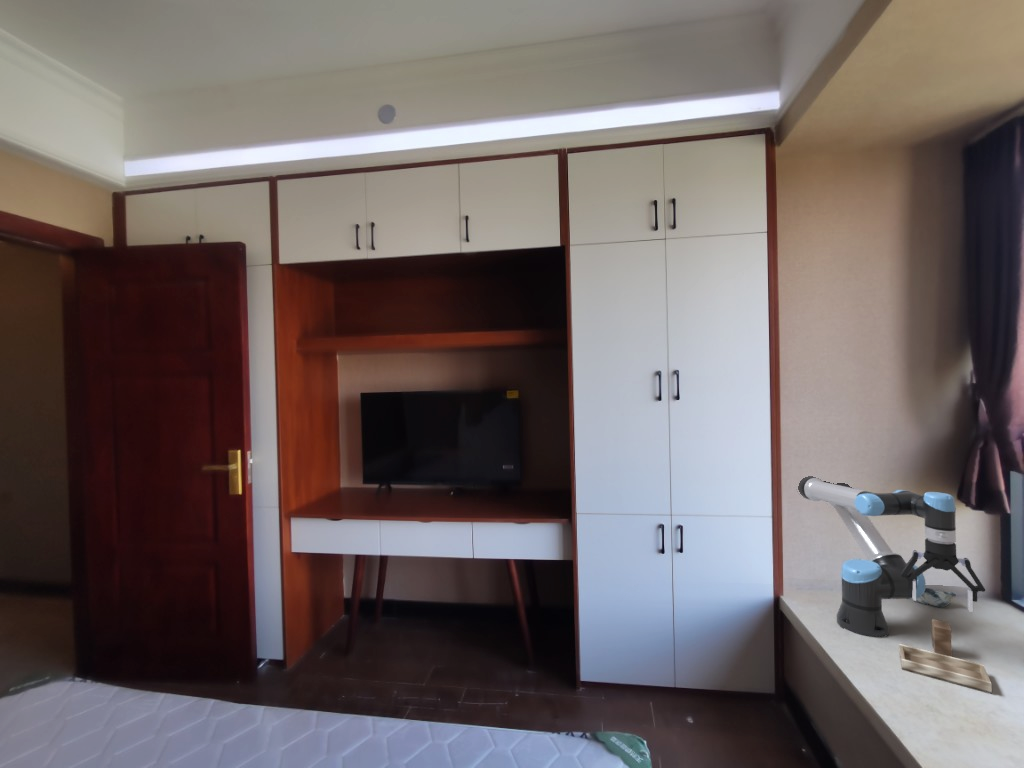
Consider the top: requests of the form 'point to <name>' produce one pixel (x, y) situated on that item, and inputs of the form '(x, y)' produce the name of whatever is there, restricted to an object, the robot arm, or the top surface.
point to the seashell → (935, 597)
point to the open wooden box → (945, 668)
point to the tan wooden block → (941, 637)
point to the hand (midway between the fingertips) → (941, 604)
